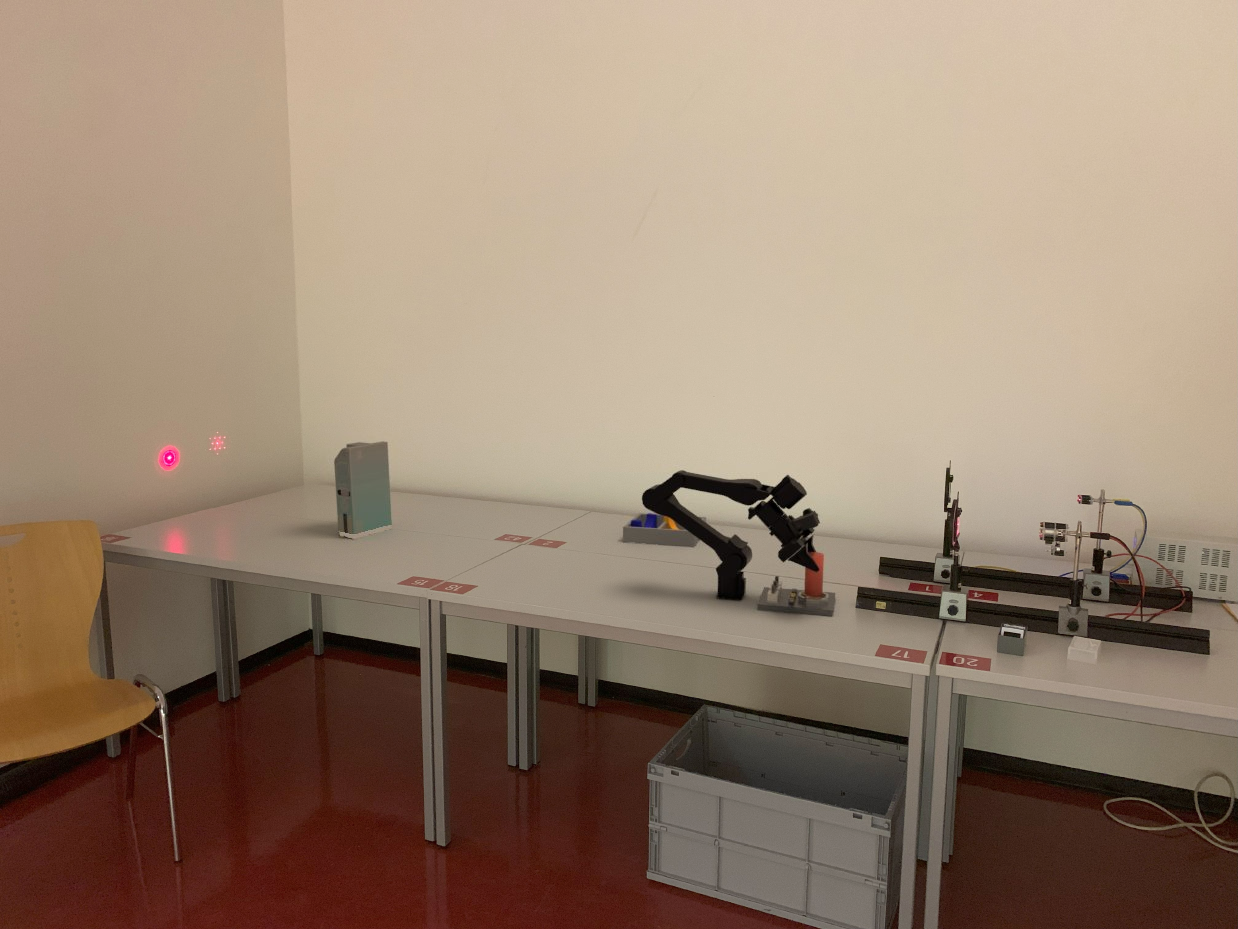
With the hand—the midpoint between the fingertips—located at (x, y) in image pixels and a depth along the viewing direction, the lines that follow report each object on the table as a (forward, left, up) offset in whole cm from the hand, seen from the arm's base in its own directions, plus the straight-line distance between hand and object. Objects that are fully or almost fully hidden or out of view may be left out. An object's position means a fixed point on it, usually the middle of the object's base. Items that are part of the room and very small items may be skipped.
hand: (819, 568), depth 220 cm
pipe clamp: (-47, +57, -10) cm, 75 cm away
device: (-150, +37, -10) cm, 155 cm away
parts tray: (-52, +57, -10) cm, 78 cm away
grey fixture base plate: (-5, 0, -10) cm, 11 cm away
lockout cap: (-1, 0, -7) cm, 7 cm away
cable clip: (-59, +58, -10) cm, 84 cm away
